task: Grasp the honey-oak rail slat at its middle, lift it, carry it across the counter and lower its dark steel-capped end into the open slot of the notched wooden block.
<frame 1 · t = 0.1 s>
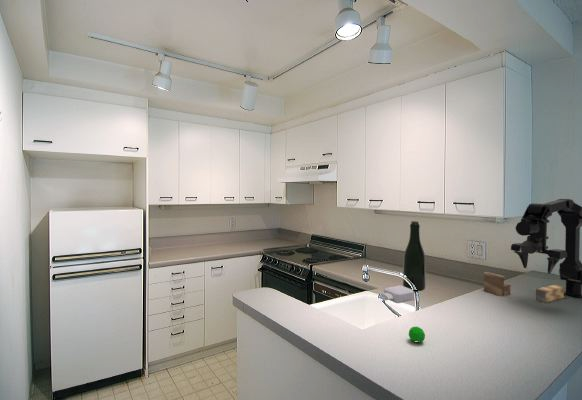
hand: (536, 270, 137), 15 cm above the countertop, fingers open, 9 cm apart
dark wine bottle: (414, 288, 161), on the countertop
green ball: (416, 342, 107), on the countertop
charger: (393, 300, 145), on the countertop
oak rail: (550, 298, 145), on the countertop
notched wooden block: (496, 292, 154), on the countertop
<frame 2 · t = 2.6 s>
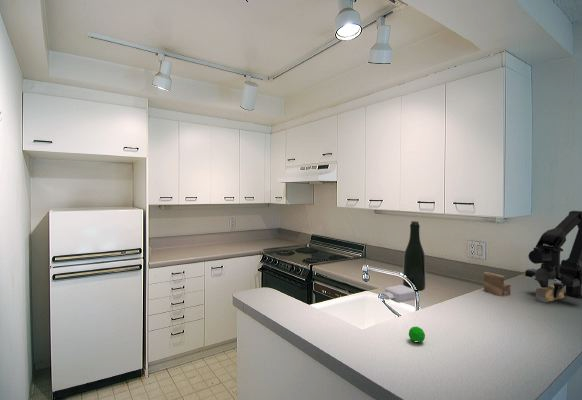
hand: (550, 296, 145), 1 cm above the countertop, fingers closed on oak rail, 3 cm apart
oak rail: (550, 298, 145), on the countertop, touching gripper
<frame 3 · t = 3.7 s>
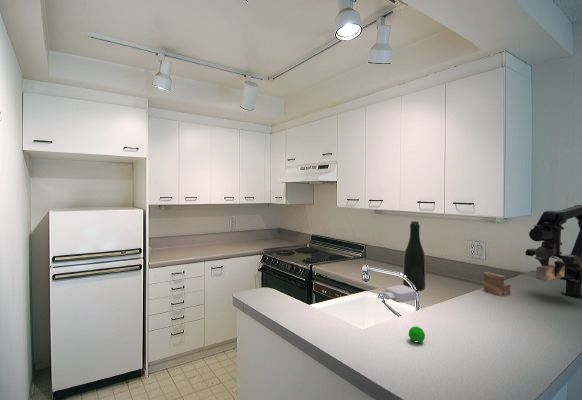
hand: (550, 275, 144), 11 cm above the countertop, fingers closed on oak rail, 3 cm apart
oak rail: (550, 277, 144), point 10 cm above the countertop, touching gripper
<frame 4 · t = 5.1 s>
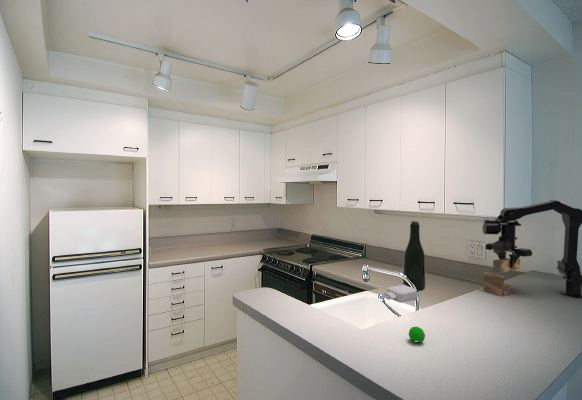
hand: (507, 267, 156), 11 cm above the countertop, fingers closed on oak rail, 3 cm apart
oak rail: (506, 269, 156), point 10 cm above the countertop, touching gripper
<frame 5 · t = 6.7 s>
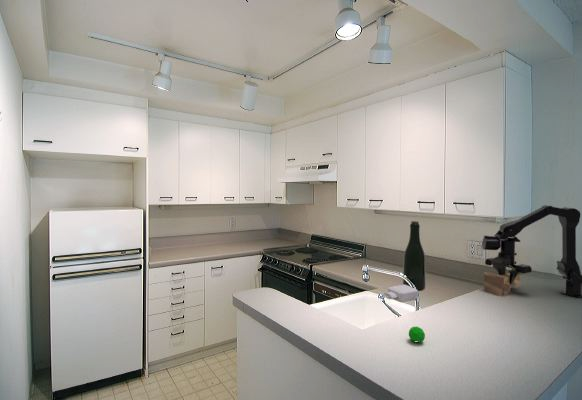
hand: (506, 282, 156), 4 cm above the countertop, fingers closed on oak rail, 3 cm apart
oak rail: (506, 285, 156), point 2 cm above the countertop, touching gripper
when the fingers open (2 cm above the countertop, at t = 8.0 s): oak rail stays where it is, on the countertop.
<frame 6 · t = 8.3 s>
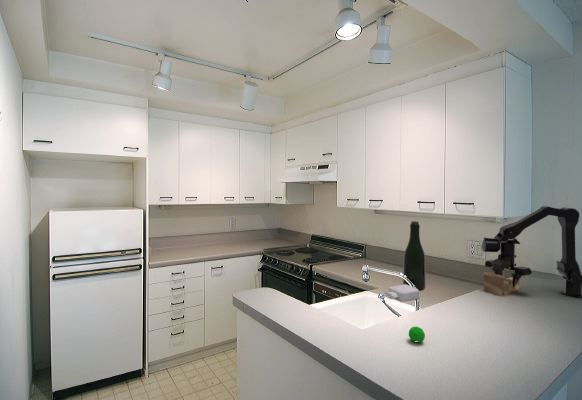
hand: (506, 285, 156), 2 cm above the countertop, fingers open, 6 cm apart
oak rail: (506, 290, 156), on the countertop
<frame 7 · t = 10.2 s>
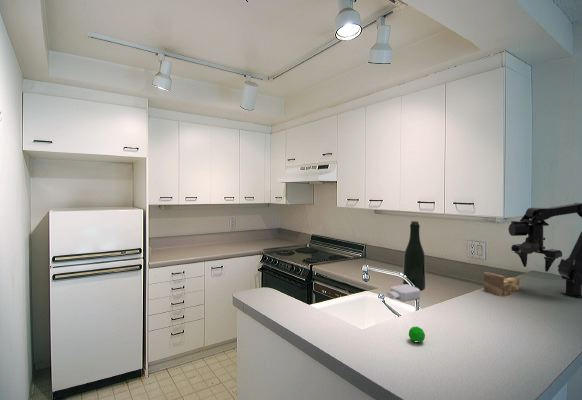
hand: (535, 269, 150), 12 cm above the countertop, fingers open, 9 cm apart
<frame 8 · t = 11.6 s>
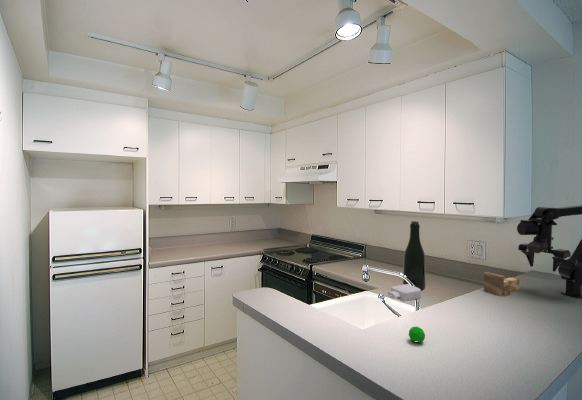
hand: (542, 269, 149), 12 cm above the countertop, fingers open, 9 cm apart
at the end: oak rail 0.2 cm from the target spot on the countertop beside the notched wooden block, on the countertop; oak rail tilted 0°; the gripper is holding nothing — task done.
